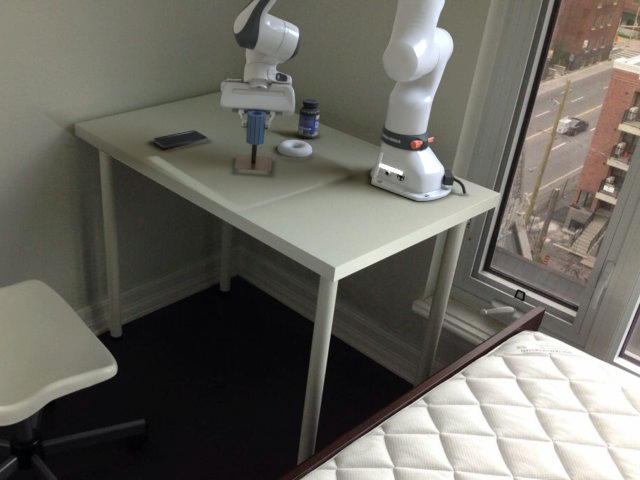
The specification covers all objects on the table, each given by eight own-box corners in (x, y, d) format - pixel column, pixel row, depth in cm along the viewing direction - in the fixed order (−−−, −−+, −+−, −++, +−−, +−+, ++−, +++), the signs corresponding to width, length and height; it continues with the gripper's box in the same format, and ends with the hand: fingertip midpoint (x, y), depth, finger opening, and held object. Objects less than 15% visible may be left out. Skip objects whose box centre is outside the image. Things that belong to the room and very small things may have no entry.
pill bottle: (317, 139, 221) (321, 104, 215) (297, 138, 221) (301, 103, 215) (316, 132, 226) (320, 97, 220) (297, 131, 226) (300, 96, 220)
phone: (151, 138, 212) (194, 129, 220) (151, 142, 213) (194, 133, 220) (165, 147, 207) (209, 138, 214) (165, 151, 207) (208, 141, 215)
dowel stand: (271, 162, 205) (274, 119, 198) (270, 176, 196) (274, 132, 190) (236, 159, 205) (238, 116, 198) (233, 173, 197) (236, 129, 190)
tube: (267, 143, 196) (269, 114, 192) (253, 146, 194) (255, 117, 189) (256, 137, 199) (258, 109, 195) (242, 140, 197) (244, 112, 192)
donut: (274, 160, 206) (309, 163, 205) (275, 148, 205) (310, 152, 203) (280, 147, 215) (313, 151, 213) (280, 136, 213) (314, 139, 211)
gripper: (221, 72, 194) (216, 120, 191) (297, 77, 193) (294, 125, 190) (222, 84, 200) (217, 130, 197) (295, 88, 199) (292, 135, 196)
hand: (255, 127), depth 194 cm, fingers closed on tube, 5 cm apart
